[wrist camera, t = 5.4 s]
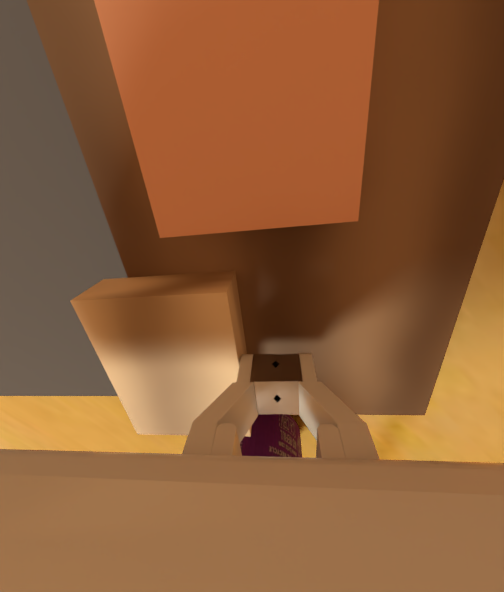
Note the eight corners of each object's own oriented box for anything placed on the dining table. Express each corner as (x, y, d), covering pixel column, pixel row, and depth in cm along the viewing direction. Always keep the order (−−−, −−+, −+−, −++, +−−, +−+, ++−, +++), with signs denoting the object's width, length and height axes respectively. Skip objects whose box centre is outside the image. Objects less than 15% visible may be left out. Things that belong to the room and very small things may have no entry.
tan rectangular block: (234, 270, 10) (226, 292, 8) (253, 402, 14) (250, 436, 12) (103, 279, 11) (70, 300, 9) (154, 401, 15) (137, 434, 13)
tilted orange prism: (366, -192, 5) (415, -385, 3) (341, 210, 9) (358, 221, 7) (103, -116, 6) (27, -239, 4) (181, 224, 9) (160, 237, 8)
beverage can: (201, 398, 19) (111, 676, 9) (290, 388, 18) (310, 705, 7) (228, 451, 22) (184, 704, 12) (305, 446, 21) (334, 728, 10)
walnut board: (511, -149, 7) (695, -396, 4) (396, 368, 16) (424, 415, 13) (77, -40, 9) (-30, -152, 6) (194, 370, 18) (177, 412, 15)
